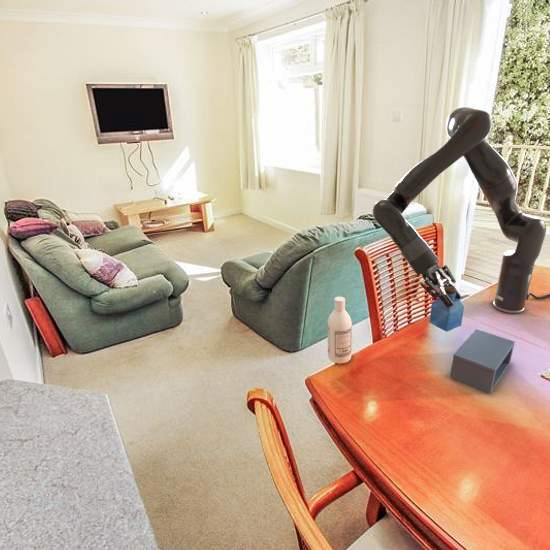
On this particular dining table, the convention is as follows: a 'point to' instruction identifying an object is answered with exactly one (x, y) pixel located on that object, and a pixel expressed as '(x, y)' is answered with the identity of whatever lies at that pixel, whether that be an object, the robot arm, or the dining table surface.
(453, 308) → the perfume bottle
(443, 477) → the dining table surface
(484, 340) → the shelf
